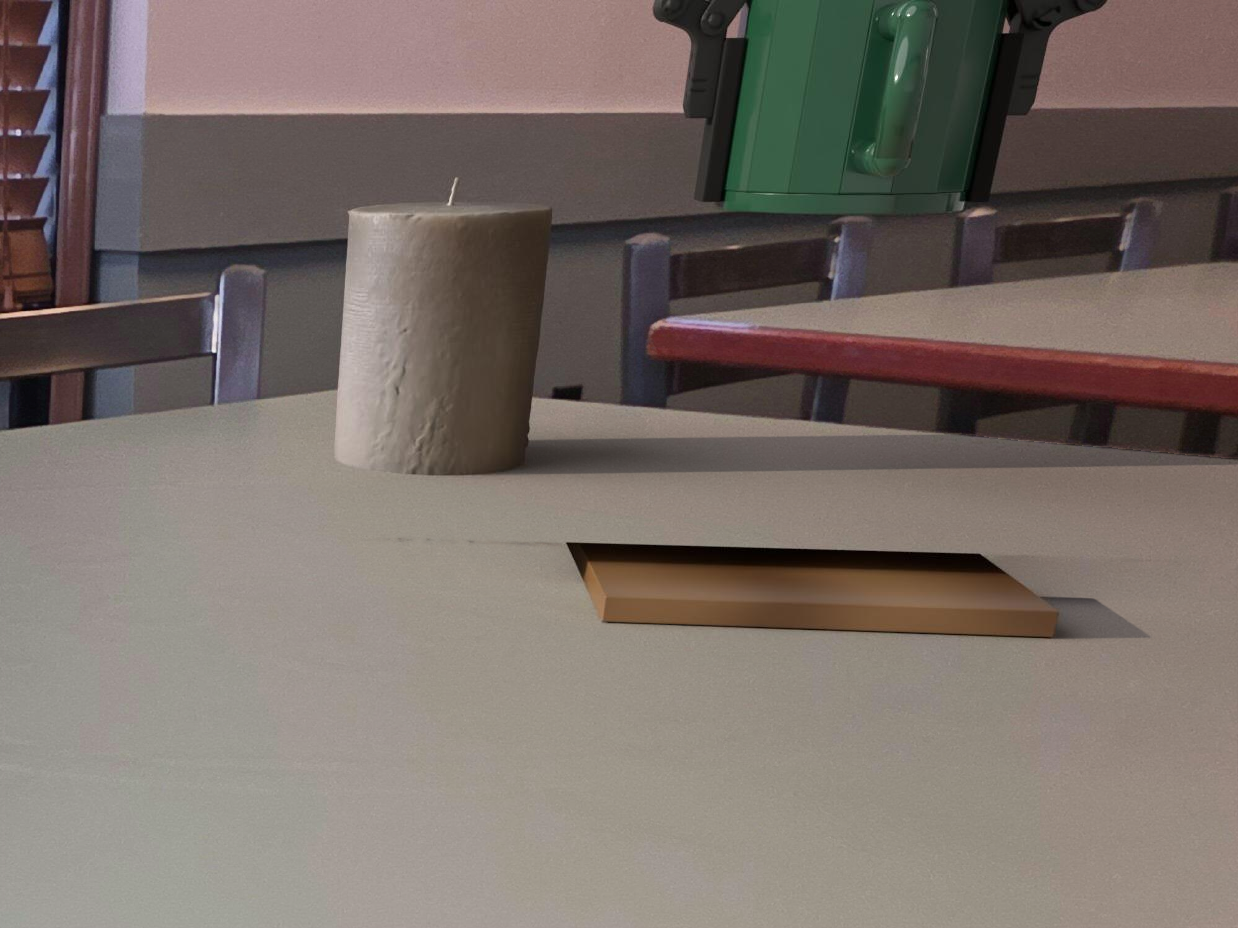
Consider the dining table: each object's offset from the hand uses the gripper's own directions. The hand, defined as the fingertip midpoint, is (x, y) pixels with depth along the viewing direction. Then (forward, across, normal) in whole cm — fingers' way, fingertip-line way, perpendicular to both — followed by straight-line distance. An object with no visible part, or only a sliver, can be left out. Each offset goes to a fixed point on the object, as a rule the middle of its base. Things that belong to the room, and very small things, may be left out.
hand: (836, 200), depth 77 cm
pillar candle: (+14, -17, +3) cm, 22 cm away
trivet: (+14, -2, -13) cm, 19 cm away
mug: (0, 0, -2) cm, 2 cm away
